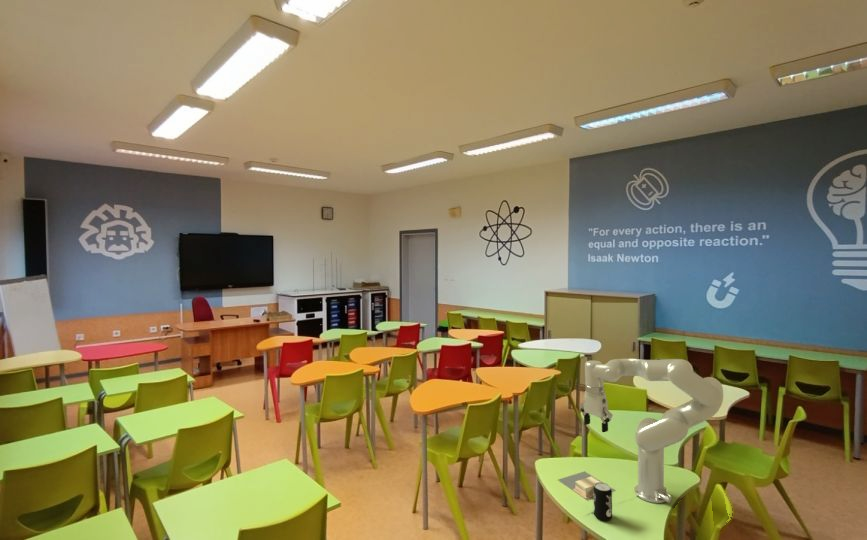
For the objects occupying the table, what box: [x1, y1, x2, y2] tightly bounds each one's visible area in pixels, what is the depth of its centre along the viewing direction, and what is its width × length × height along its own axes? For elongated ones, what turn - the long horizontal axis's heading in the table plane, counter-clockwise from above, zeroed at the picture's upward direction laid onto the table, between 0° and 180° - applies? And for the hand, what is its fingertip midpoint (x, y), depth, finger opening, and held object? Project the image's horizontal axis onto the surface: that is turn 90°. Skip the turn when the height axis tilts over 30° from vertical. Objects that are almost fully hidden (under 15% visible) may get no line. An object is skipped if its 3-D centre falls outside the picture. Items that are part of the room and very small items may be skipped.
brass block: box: [575, 475, 601, 497], centre depth 180 cm, size 9×6×4 cm, turn 114°
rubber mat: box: [557, 471, 617, 501], centre depth 185 cm, size 18×16×1 cm
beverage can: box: [593, 481, 613, 522], centre depth 163 cm, size 7×7×12 cm
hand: (595, 427), depth 188 cm, fingers open, 9 cm apart
